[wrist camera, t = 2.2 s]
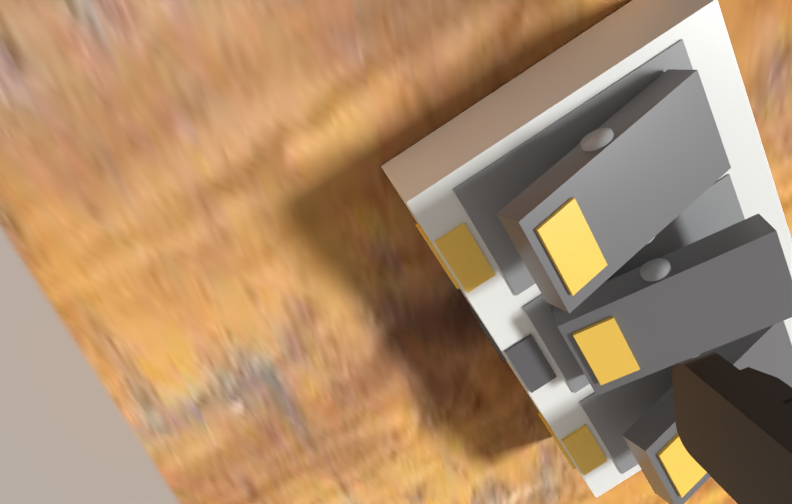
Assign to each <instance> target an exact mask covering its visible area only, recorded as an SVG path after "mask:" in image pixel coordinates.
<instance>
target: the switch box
mask: <svg viewBox="0 0 792 504" xmlns="http://www.w3.org/2000/svg"><path fill="white" fill-rule="evenodd" d="M668 69H677V70H698V73H699V76H700V79H701V82H702V85H703V87H704V90H705V93H706V96H707V99H708V102H709V105H710V108H711V111H712V114H713V117H714V119H715V122H716V125H717V128H718V131H719V134H720V137H721V140H722V143H723V146H724V149H725V151H726V154H727V157H728V160H729V163H730V166H731V168H730V169H729V170H728V171H727V172H726V173H725V174H724V175H722V176H721V177H720V178H719V179H718V180H717V181H716V182H715V183H714V184H713V185H711V186H710V187H709V188H708V189H707V190H706V191H705V192H704V193H703V194H701V195H700V196H699V197H698V198H697V199H696V200H695V201H694V202H693V203H691V204H690V205H689V206H688V207H687V208H686V209H685V210H684V211H683V212H682V213H680V214H679V215H678V216H677V217H676V218H675V219H674V220H673V221H672V222H670V223H669V224H668V225H667V226H666V227H665V228H664V229H663V230H662V231H660V232H659V233H658V234H657V235H656V236H655V238H654V239H653V240H652V241H651V242H650V243H648V244H646V245H645V246H644V247H643V248H642V249H641V250H639V251H638V252H637V253H636V254H635V255H634V256H633V257H632V258H631V259H629V260H628V261H627V262H626V263H625V264H624V265H623V266H622V267H621V268H620V269H618V270H617V271H616V272H615V273H614V274H613V275H612V276H611V277H610V278H608V279H607V280H606V281H609V280H611V279H613V278H615V277H618V276H620V275H622V274H624V273H627V272H629V271H631V270H633V269H636V268H638V267H640V266H642V265H644V264H645V263H646V262H648V261H650V260H653V259H658V258H660V257H662V256H665V255H667V254H669V253H671V252H673V251H676V250H678V249H680V248H682V247H685V246H687V245H689V244H691V243H694V242H696V241H698V240H700V239H703V238H705V237H707V236H709V235H711V234H714V233H716V232H718V231H720V230H723V229H725V228H727V227H729V226H732V225H734V224H736V223H738V222H741V221H743V220H745V219H747V218H749V217H752V216H754V215H756V214H758V213H759V214H760V215H761V216H762V217H763V218H764V219H765V220H766V221H767V222H768V223H769V224H770V225H771V226H772V227H773V228H774V229H775V230H776V231H777V234H778V237H779V240H780V243H781V247H782V250H783V253H784V256H785V259H786V262H787V265H788V268H789V271H790V274H791V278H792V239H791V235H790V232H789V229H788V226H787V222H786V219H785V216H784V213H783V210H782V206H781V203H780V200H779V197H778V193H777V190H776V187H775V184H774V181H773V177H772V174H771V171H770V168H769V164H768V161H767V158H766V155H765V152H764V148H763V145H762V142H761V139H760V135H759V132H758V129H757V126H756V123H755V119H754V116H753V113H752V110H751V106H750V103H749V100H748V97H747V94H746V90H745V87H744V84H743V81H742V77H741V74H740V71H739V68H738V65H737V61H736V58H735V55H734V52H733V48H732V45H731V42H730V39H729V36H728V32H727V29H726V26H725V23H724V19H723V16H722V13H721V10H720V7H719V3H718V0H632V1H630V2H629V3H627V4H626V5H624V6H623V7H621V8H620V9H618V10H617V11H615V12H614V13H612V14H611V15H609V16H607V17H606V18H604V19H603V20H601V21H600V22H598V23H597V24H595V25H594V26H592V27H591V28H589V29H588V30H586V31H585V32H583V33H582V34H580V35H579V36H577V37H576V38H574V39H573V40H571V41H570V42H568V43H567V44H565V45H564V46H562V47H561V48H559V49H558V50H556V51H555V52H553V53H551V54H550V55H548V56H547V57H545V58H544V59H542V60H541V61H539V62H538V63H536V64H535V65H533V66H532V67H530V68H529V69H527V70H526V71H524V72H523V73H521V74H520V75H518V76H517V77H515V78H514V79H512V80H511V81H509V82H508V83H506V84H505V85H503V86H502V87H500V88H498V89H497V90H495V91H494V92H492V93H491V94H489V95H488V96H486V97H485V98H483V99H482V100H480V101H479V102H477V103H476V104H474V105H473V106H471V107H470V108H468V109H467V110H465V111H464V112H462V113H461V114H459V115H458V116H456V117H455V118H453V119H452V120H450V121H449V122H447V123H445V124H444V125H442V126H441V127H439V128H438V129H436V130H435V131H433V132H432V133H430V134H429V135H427V136H426V137H424V138H423V139H421V140H420V141H418V142H417V143H415V144H414V145H412V146H411V147H409V148H408V149H406V150H405V151H403V152H402V153H400V154H399V155H397V156H396V157H394V158H393V159H391V160H389V161H388V162H386V163H385V164H383V165H382V166H381V168H382V169H383V171H384V172H385V174H386V175H387V177H388V179H389V180H390V182H391V183H392V185H393V186H394V188H395V189H396V191H397V192H398V194H399V196H400V197H401V199H402V200H403V202H404V203H405V205H406V206H407V208H408V210H409V211H410V213H411V214H412V216H413V217H414V219H415V220H416V222H417V224H415V226H416V227H417V229H418V230H419V232H420V233H421V235H422V236H423V238H424V240H425V241H426V243H427V244H428V246H429V247H430V249H431V250H432V252H433V253H434V255H435V257H436V258H437V260H438V261H439V263H440V264H441V266H442V267H443V269H444V270H445V272H446V273H447V275H448V276H449V278H450V279H451V281H452V282H453V284H454V285H455V287H456V288H457V289H460V290H461V292H462V293H463V295H464V296H465V298H466V299H467V301H468V303H469V304H470V305H469V306H467V307H468V308H469V310H470V311H471V313H472V314H473V316H474V317H475V319H476V320H477V322H478V324H479V325H480V327H481V328H482V330H483V331H484V333H485V334H486V336H487V337H488V339H489V341H490V342H491V344H492V345H493V347H494V348H495V350H496V351H497V353H498V354H499V356H500V357H501V359H502V360H503V362H505V361H507V363H508V365H509V366H510V368H511V369H512V371H513V372H514V374H515V375H516V377H517V379H518V380H519V382H520V383H521V385H522V386H523V388H524V389H525V391H526V392H527V394H528V396H529V397H530V399H531V400H532V402H533V403H534V405H535V406H536V408H537V410H538V411H539V413H538V415H539V417H540V419H541V420H542V422H543V423H544V425H545V426H546V428H547V429H548V431H549V432H550V434H551V435H552V437H553V439H554V440H555V442H556V443H557V445H558V446H559V448H560V449H561V451H562V452H563V454H564V455H565V457H566V458H567V460H568V461H569V463H570V464H571V466H572V467H573V469H575V468H576V469H577V470H578V472H579V473H580V475H581V476H582V478H583V479H584V481H585V482H586V484H587V485H588V487H589V488H590V490H591V491H592V493H593V494H594V496H595V497H596V498H597V497H598V496H600V495H602V494H603V493H605V492H606V491H608V490H610V489H611V488H613V487H614V486H616V485H618V484H619V483H621V482H622V481H624V480H625V479H627V478H629V477H630V476H632V475H633V474H635V473H637V472H638V471H640V470H641V467H640V466H639V464H638V462H637V460H636V459H635V457H634V455H633V453H632V452H631V450H630V448H629V446H628V445H627V443H626V441H625V439H624V438H623V436H622V435H623V434H624V433H625V432H626V431H627V430H628V429H629V428H630V427H631V426H632V425H633V424H634V423H635V422H636V421H637V420H638V419H639V418H640V417H641V416H642V415H643V414H644V413H645V412H646V411H647V410H648V409H649V408H650V407H652V406H653V405H654V404H655V403H656V402H657V401H658V400H659V399H660V398H661V397H662V396H663V395H664V394H665V393H666V392H667V391H668V390H669V389H670V388H671V387H672V386H673V381H672V369H673V366H674V365H672V366H670V367H667V368H665V369H662V370H660V371H657V372H655V373H652V374H650V375H647V376H645V377H642V378H640V379H637V380H635V381H632V382H630V383H627V384H625V385H622V386H620V387H617V388H615V389H612V390H610V391H607V392H605V393H602V394H600V395H598V396H597V395H596V393H595V392H594V390H593V388H592V386H591V385H590V383H589V381H588V379H587V378H586V376H585V374H584V372H583V371H582V369H581V367H580V365H579V364H578V362H577V360H576V358H575V357H574V355H573V353H572V351H571V350H570V348H569V346H568V345H567V343H566V341H565V339H564V338H563V336H562V334H561V332H560V331H559V329H558V327H557V325H556V322H555V319H554V316H553V313H552V310H551V308H550V307H551V306H553V305H551V304H550V303H548V302H546V300H545V299H544V297H543V295H542V293H541V292H540V290H539V288H538V286H537V285H536V283H535V281H534V279H533V278H532V276H531V274H530V272H529V271H528V269H527V267H526V265H525V264H524V262H523V260H522V258H521V256H520V255H519V253H518V251H517V249H516V248H515V246H514V244H513V242H512V241H511V239H510V237H509V235H508V234H507V232H506V230H505V228H504V227H503V225H502V223H501V221H500V220H499V218H498V216H497V214H496V213H498V212H499V211H500V210H501V209H502V208H504V207H505V206H506V205H507V204H508V203H510V202H511V201H512V200H513V199H514V198H515V197H517V196H518V195H519V194H520V193H521V192H523V191H524V190H525V189H526V188H527V187H529V186H530V185H531V184H532V183H533V182H534V181H536V180H537V179H538V178H539V177H540V176H542V175H543V174H544V173H545V172H546V171H548V170H549V169H550V168H551V167H552V166H554V165H555V164H556V163H557V162H558V161H559V160H561V159H562V158H563V157H564V156H565V155H567V154H568V153H569V152H570V151H571V150H573V149H574V148H575V147H576V146H577V145H578V144H580V142H581V140H582V139H583V138H584V137H585V136H586V135H587V134H589V133H590V132H592V131H595V130H596V129H597V128H599V127H600V126H601V125H602V124H603V123H605V122H606V121H607V120H608V119H609V118H611V117H612V116H613V115H614V114H615V113H616V112H618V111H619V110H620V109H621V108H622V107H624V106H625V105H626V104H627V103H628V102H630V101H631V100H632V99H633V98H634V97H635V96H637V95H638V94H639V93H640V92H641V91H643V90H644V89H645V88H646V87H647V86H649V85H650V84H651V83H652V82H653V81H655V80H656V79H657V78H658V77H659V76H660V75H662V74H663V73H664V72H665V71H666V70H668ZM606 281H605V282H606ZM784 323H785V326H786V329H787V332H788V335H789V338H790V341H791V344H792V317H791V318H789V319H786V320H784ZM707 352H708V351H707ZM707 352H704V353H707ZM704 353H702V354H704ZM702 354H700V355H702ZM698 356H699V355H698ZM689 359H691V358H689ZM687 360H688V359H687ZM684 361H685V360H684ZM679 363H680V362H679Z"/></svg>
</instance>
